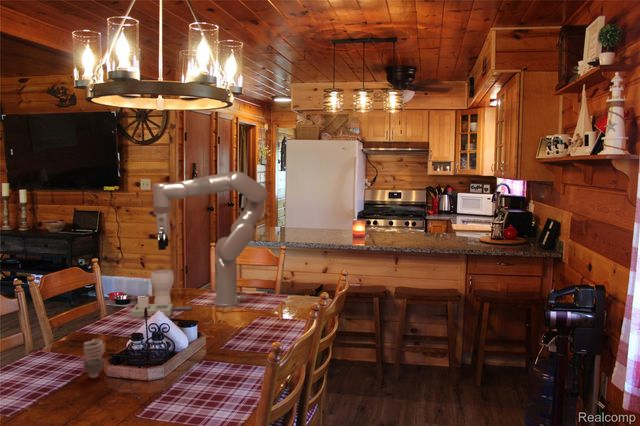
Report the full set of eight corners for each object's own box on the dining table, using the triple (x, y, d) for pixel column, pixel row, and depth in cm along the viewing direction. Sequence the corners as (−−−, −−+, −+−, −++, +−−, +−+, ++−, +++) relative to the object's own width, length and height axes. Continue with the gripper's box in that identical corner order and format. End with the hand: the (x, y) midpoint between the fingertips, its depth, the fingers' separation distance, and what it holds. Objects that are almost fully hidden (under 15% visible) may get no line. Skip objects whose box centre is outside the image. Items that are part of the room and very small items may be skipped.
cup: (149, 301, 250) (149, 270, 249) (172, 299, 254) (171, 268, 253) (152, 306, 240) (152, 274, 239) (175, 304, 245) (175, 272, 244)
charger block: (148, 312, 231) (148, 296, 230) (147, 314, 227) (147, 298, 227) (139, 312, 230) (139, 296, 230) (137, 314, 226) (137, 298, 226)
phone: (192, 309, 239) (192, 306, 239) (191, 311, 234) (191, 309, 234) (174, 309, 238) (174, 306, 238) (172, 312, 233) (172, 309, 233)
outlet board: (172, 308, 237) (172, 302, 236) (169, 316, 225) (169, 309, 225) (136, 309, 234) (136, 303, 234) (131, 317, 222) (131, 310, 222)
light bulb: (98, 373, 161) (97, 335, 160) (107, 378, 158) (106, 339, 157) (80, 378, 157) (79, 339, 156) (89, 383, 154) (88, 344, 153)
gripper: (168, 211, 226) (170, 250, 228) (172, 208, 243) (173, 245, 245) (150, 212, 225) (152, 251, 226) (156, 209, 242) (157, 245, 243)
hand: (163, 248), depth 235 cm, fingers open, 9 cm apart
